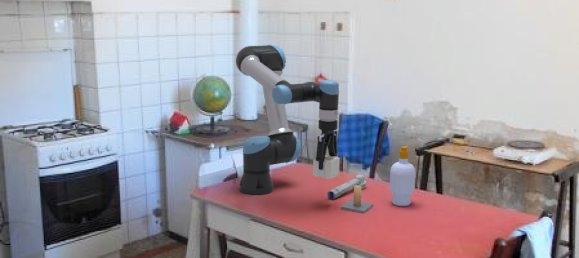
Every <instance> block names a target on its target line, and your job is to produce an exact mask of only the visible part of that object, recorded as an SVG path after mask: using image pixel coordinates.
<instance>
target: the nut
mask: <svg viewBox="0 0 579 258" xmlns="http://www.w3.org/2000/svg"><path fill="white" fill-rule="evenodd" d="M340 160H341V158H340V157H338V156H337V157H336V156H334V157H332V156H329V155H326V156H325V178H323V177H321V178H323V179H328V180H332V179H333V178H335V177H337V176H339V175H340V165H341V164H340ZM312 161H313V162H312V177H317V178H319V177H318V163H319V161H316V157H315V158H313V160H312Z"/></svg>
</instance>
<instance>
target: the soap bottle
mask: <svg viewBox="0 0 579 258" xmlns="http://www.w3.org/2000/svg"><path fill="white" fill-rule="evenodd" d="M409 147H410V146H409V145H405V146H400V150H399V152H398V161H397V162H394V163H393V164H392V166H391V168H390V170H389V171H390V172H389V173H390V174H389V191H390V192H391V193H392V195H391V196H392V197H391V200H392V202H391V203H392V204H393V205H394V206H399V207H407V206H410V205H411V202H412V200H411V199H412V194H413V193H415V187H416V185H415V184H416V168H415V167H414V165H413V164H412V163H410V162H409V150H408V148H409Z"/></svg>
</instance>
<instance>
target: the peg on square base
mask: <svg viewBox="0 0 579 258" xmlns="http://www.w3.org/2000/svg"><path fill="white" fill-rule="evenodd" d="M373 207H374V203H370V202H364V201H362V189H361V186H359V185H355V186H354V187H353V199H350V200H349V201H347V202H345V203H344V204H342V205H341V206H340V210H343V211H350V212H354V213H355V212H356V213H360V214H365V213H367V212H368V211H369V210H371V209H372V208H373Z"/></svg>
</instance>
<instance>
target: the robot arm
mask: <svg viewBox="0 0 579 258" xmlns="http://www.w3.org/2000/svg"><path fill="white" fill-rule="evenodd" d="M286 63H287V58H286V54H285V51H284V50H283V49H282V48H281V47H280V46H278V45H272V44H267V45H265V44H264V45H248V46H244V47H242V48H241V49H240V50H239V52H237V54H236V57H235V65H236V68H237V69H238V71H239V72H241V74H242V75H244V76H246V77H250V78H252V79H253V80H254V81H256V82H257V83H258V84H260V85H261V86H262V90H263V97H264V101H265V102H264V104H265V110H266V114H267V120H268V127H269V133H268V134H267V136H266V135H260V136H259V135H256V136H251V137H249V138H247V139H246V138H245V140H244V141H243V147H242V159H243V160H242V162H243V163H242V164H243V165H242V168H243V170H242V171H243V172H242V176H241V178H240V182H239V191H240V192H241V193H242V194H247V195H266V194H271V193H272V192H274V186H275V185H274V182H273V179H272V176H271V175H272V174H271V173H270V170H271V169H270V167H271V166H272V165H279V164H288V163H290V162H295V161H296V160H297V159H298V158H299V155H300V153H301V149H302V148H301V141H300V139H299V137H298V136H297V135H294V131H293V130H292V129H290V127H289V122H288V117H287V110H286V105H287V104H296V103H297V104H298V103H306V102H307V103H308V102H316V103H318V119H319V120H318V129H319V130H320V131H321V134H320V135H318V136H317V146H316V153H315V158H316V161H319V163H318V177H317V178H322V177H323V179H326V178H325V156H327V152H328V156H332V157H338V131H337V130H338V117H339V116H338V115H339V114H340V112H339V95H340V90H339V89H340V85H339V84H340V83H339V81H337V80H333V79H332V80H331V79H323V80H320V82H319V83H318V82H315V81H305V82H302V83H290V82H288V81H287V80H285V78H283V77H282V74H284V72H283V70H284V69H285V67H286Z"/></svg>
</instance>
